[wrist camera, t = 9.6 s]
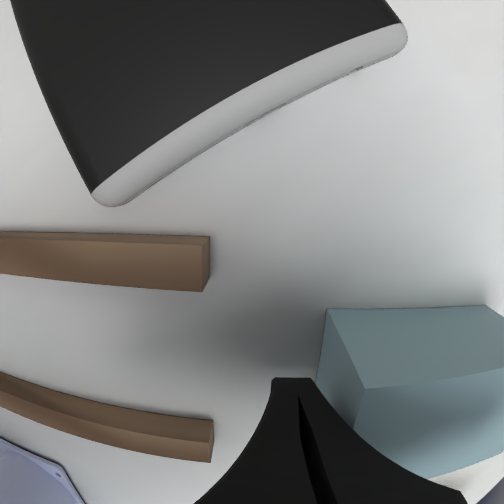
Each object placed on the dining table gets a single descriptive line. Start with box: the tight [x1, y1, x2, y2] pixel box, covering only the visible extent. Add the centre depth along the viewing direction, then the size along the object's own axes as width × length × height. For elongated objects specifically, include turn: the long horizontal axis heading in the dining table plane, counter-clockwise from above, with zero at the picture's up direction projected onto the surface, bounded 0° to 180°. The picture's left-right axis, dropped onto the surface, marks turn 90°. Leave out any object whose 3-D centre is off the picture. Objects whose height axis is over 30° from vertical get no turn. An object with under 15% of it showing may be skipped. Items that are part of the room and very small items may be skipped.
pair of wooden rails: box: [0, 232, 214, 463], centre depth 12 cm, size 10×20×2 cm, turn 88°
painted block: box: [316, 305, 504, 479], centre depth 10 cm, size 5×8×5 cm, turn 88°
